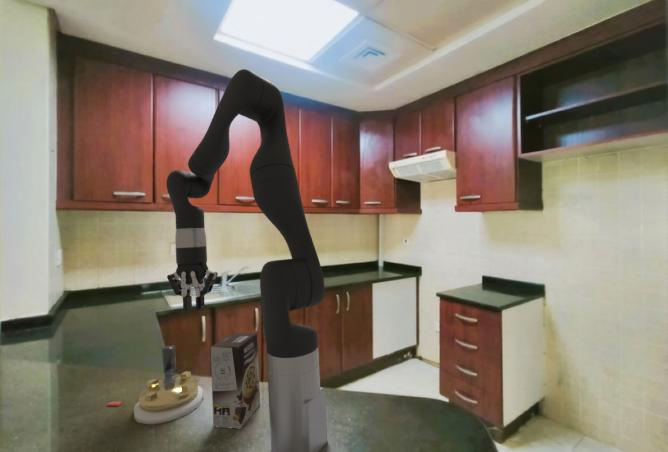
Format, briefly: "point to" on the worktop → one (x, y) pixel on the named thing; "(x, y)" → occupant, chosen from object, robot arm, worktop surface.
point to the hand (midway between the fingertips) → (194, 310)
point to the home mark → (114, 403)
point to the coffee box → (235, 380)
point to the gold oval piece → (168, 386)
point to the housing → (167, 411)
